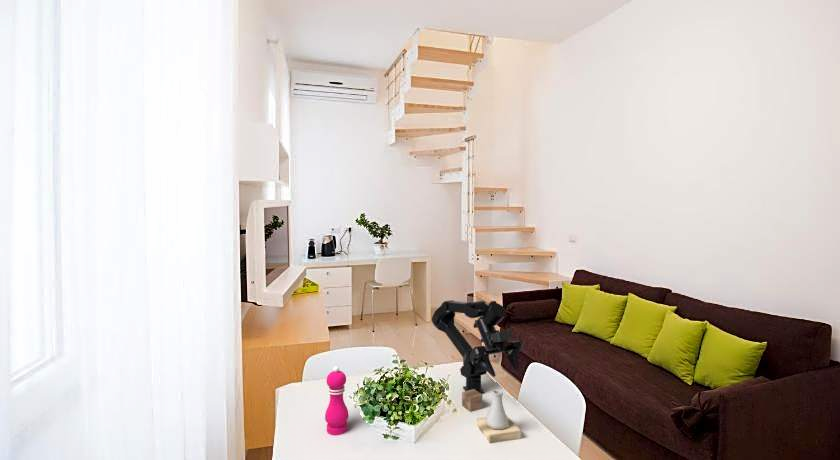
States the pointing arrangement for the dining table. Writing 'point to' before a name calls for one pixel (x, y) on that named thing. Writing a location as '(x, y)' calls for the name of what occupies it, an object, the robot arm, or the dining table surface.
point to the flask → (497, 412)
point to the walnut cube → (472, 400)
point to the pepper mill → (336, 403)
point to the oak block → (499, 431)
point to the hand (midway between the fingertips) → (506, 374)
